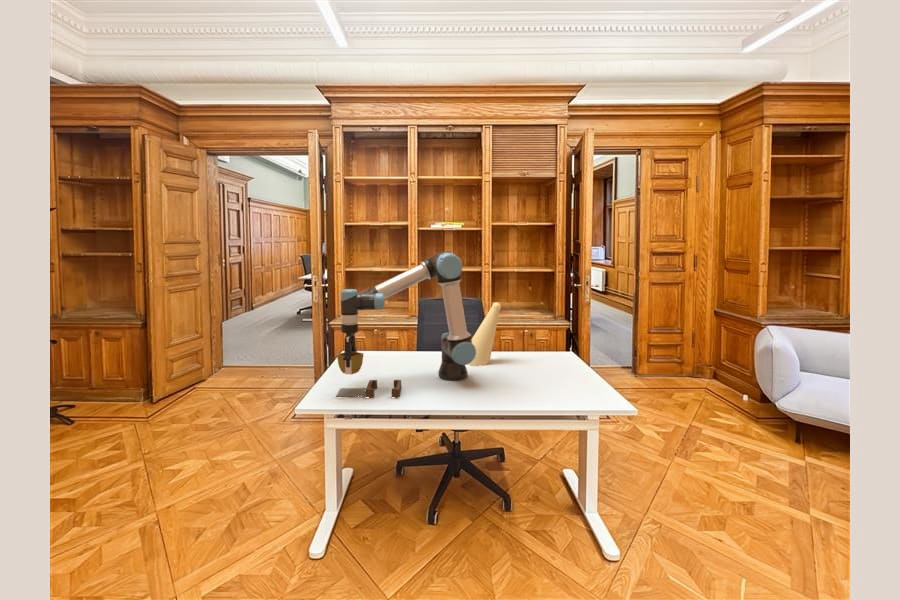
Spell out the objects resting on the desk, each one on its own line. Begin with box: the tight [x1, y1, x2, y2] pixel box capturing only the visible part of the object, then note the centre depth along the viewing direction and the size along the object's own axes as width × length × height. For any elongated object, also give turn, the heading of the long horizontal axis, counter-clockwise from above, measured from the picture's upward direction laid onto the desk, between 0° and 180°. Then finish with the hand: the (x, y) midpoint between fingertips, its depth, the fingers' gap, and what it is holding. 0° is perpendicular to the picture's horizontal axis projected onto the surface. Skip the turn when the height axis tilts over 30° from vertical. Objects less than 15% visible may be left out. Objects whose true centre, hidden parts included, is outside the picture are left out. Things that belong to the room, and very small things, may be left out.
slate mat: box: [335, 387, 367, 398], centre depth 230 cm, size 12×12×1 cm
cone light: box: [466, 302, 502, 367], centre depth 285 cm, size 25×18×35 cm
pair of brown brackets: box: [365, 379, 402, 399], centre depth 230 cm, size 15×15×4 cm
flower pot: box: [336, 351, 364, 375], centre depth 228 cm, size 9×9×9 cm
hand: (350, 370), depth 229 cm, fingers closed on flower pot, 11 cm apart
